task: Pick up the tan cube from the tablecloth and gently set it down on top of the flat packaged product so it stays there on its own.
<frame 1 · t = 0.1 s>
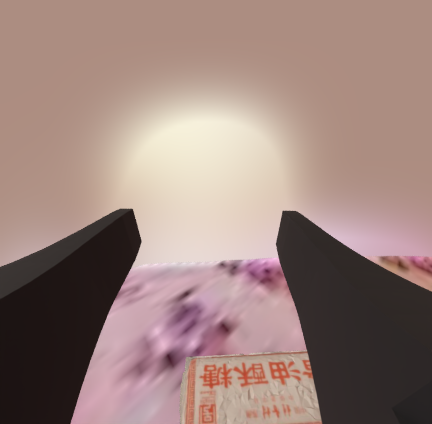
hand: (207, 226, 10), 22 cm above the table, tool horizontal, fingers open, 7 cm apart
packaged product: (270, 413, 20), on the table
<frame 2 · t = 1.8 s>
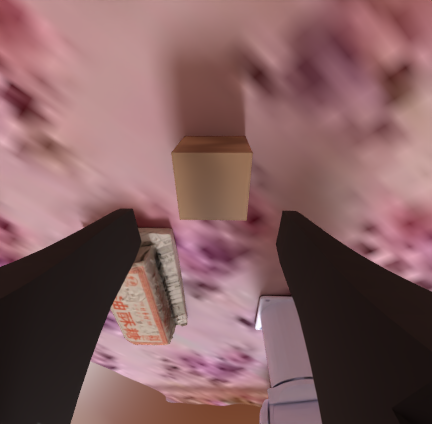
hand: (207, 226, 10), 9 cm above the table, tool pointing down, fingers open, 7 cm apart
tan cube: (215, 165, 18), on the table
packaged product: (147, 276, 27), on the table
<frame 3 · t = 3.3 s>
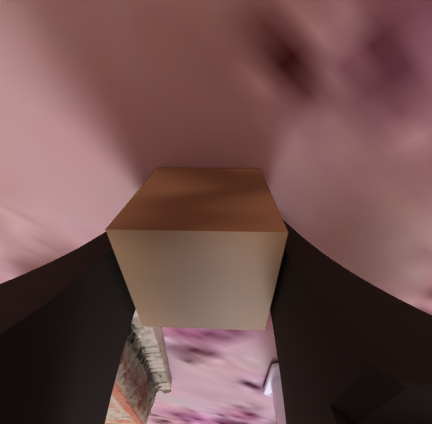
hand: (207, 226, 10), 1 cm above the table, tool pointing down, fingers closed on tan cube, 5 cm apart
tan cube: (209, 211, 11), on the table, touching gripper
packaged product: (119, 337, 20), on the table
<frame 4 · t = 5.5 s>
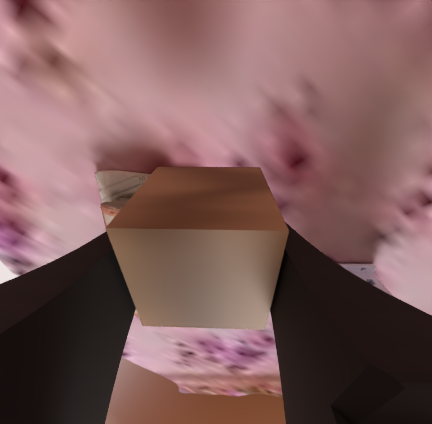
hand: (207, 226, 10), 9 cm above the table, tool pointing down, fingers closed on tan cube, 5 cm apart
tan cube: (209, 210, 11), point 8 cm above the table, touching gripper
packaged product: (160, 241, 24), on the table
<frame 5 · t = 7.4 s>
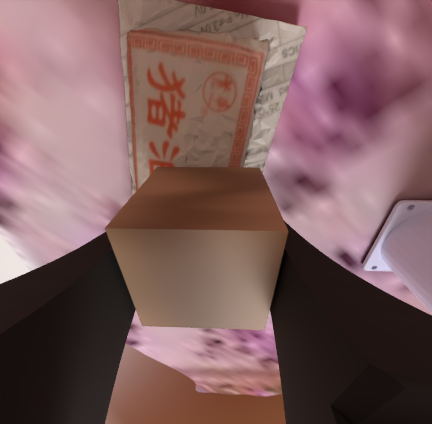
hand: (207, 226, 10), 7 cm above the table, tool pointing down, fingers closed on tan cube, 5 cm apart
tan cube: (209, 210, 11), point 6 cm above the table, touching gripper
packaged product: (197, 165, 16), on the table
when the fingers open (7 cm above the table, at t = 8.0 s): tan cube drops 1 cm, point 4 cm above the table.
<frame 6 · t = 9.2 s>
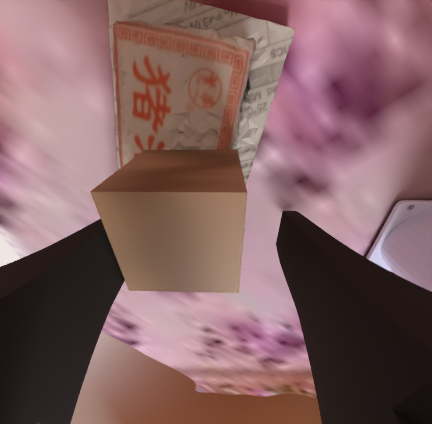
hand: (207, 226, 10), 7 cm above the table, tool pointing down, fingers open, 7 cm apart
tan cube: (193, 192, 12), point 4 cm above the table, touching gripper
packaged product: (186, 162, 16), on the table
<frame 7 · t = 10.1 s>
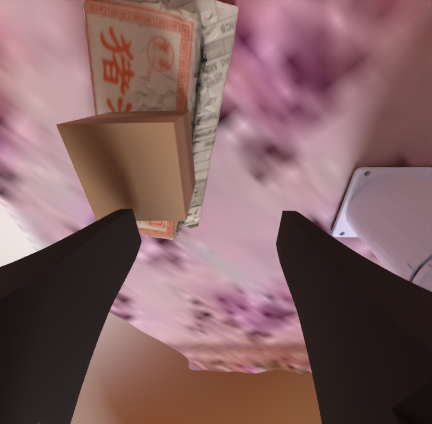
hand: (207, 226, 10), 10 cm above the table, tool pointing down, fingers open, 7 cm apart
tan cube: (157, 150, 14), point 4 cm above the table
packaged product: (160, 132, 18), on the table
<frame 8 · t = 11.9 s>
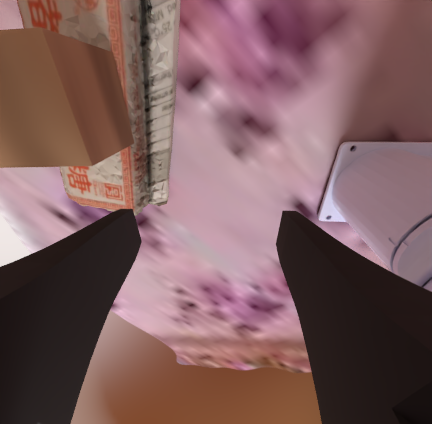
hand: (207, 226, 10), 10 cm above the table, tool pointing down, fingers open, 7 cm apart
tan cube: (87, 103, 13), point 4 cm above the table, touching packaged product
packaged product: (119, 100, 17), on the table, touching tan cube
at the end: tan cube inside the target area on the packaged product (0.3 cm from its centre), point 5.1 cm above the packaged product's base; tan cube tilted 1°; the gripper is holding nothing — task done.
